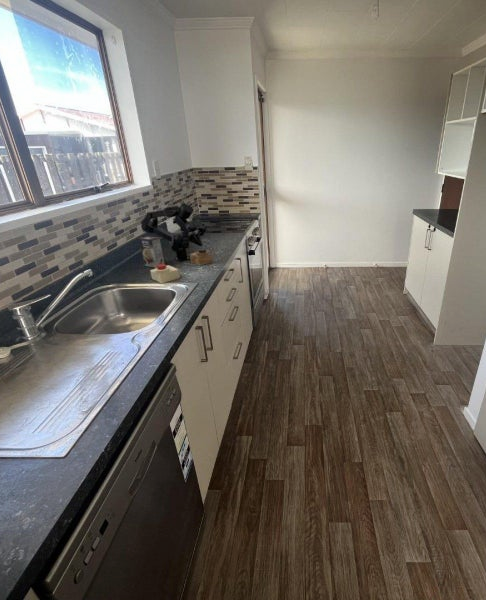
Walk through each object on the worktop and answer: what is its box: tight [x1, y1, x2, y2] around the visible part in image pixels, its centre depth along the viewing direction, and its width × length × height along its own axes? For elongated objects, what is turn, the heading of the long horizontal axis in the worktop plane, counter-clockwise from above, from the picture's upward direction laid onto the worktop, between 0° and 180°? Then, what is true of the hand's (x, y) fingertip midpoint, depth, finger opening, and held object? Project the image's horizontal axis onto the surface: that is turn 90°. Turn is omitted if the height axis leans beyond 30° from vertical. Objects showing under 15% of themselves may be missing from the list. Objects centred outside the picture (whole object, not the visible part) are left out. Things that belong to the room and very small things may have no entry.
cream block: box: [150, 265, 181, 284], centre depth 166 cm, size 10×10×6 cm
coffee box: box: [138, 235, 165, 269], centre depth 183 cm, size 9×6×16 cm
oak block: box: [189, 249, 212, 267], centre depth 188 cm, size 11×8×7 cm
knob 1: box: [157, 263, 167, 270], centre depth 162 cm, size 4×4×2 cm
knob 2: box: [198, 247, 207, 253], centre depth 185 cm, size 4×4×2 cm
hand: (201, 245), depth 184 cm, fingers closed
